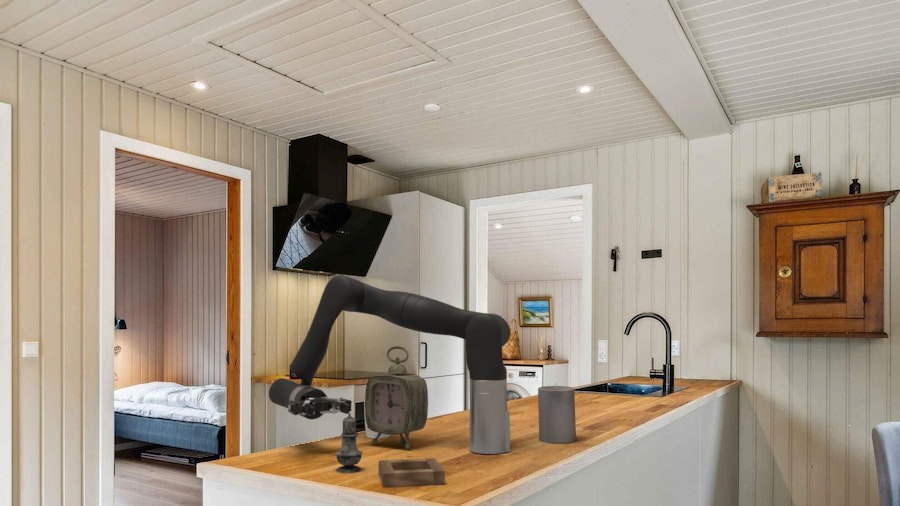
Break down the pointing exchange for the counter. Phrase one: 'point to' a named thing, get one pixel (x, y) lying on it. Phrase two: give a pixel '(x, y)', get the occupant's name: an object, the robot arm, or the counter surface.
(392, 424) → the tabletop clock
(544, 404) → the pillar candle
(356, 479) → the counter surface
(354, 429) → the chess piece
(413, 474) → the socket block
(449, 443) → the counter surface
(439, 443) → the counter surface
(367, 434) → the white curved pieces
